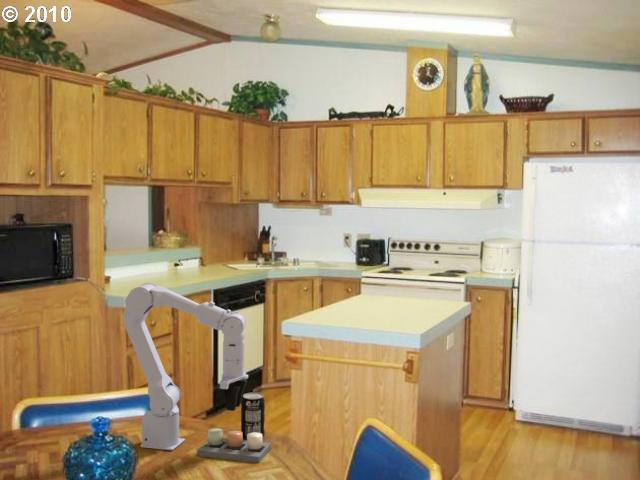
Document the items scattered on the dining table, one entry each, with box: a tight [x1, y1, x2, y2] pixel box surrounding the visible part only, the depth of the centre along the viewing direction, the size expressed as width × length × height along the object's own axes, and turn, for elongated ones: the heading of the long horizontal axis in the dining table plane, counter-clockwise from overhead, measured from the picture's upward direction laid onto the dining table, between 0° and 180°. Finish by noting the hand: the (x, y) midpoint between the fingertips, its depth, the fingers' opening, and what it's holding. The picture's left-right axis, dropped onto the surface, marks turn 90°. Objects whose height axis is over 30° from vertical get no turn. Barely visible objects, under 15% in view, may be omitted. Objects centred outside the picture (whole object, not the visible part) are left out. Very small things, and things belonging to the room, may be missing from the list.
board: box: [196, 437, 272, 464], centre depth 176 cm, size 17×10×2 cm, turn 77°
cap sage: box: [207, 428, 224, 445], centre depth 178 cm, size 4×4×3 cm
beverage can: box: [240, 392, 266, 440], centre depth 187 cm, size 7×7×12 cm
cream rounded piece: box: [247, 432, 263, 449], centre depth 175 cm, size 4×4×3 cm
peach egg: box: [226, 430, 244, 447], centre depth 176 cm, size 4×4×3 cm
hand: (233, 408), depth 180 cm, fingers open, 3 cm apart
